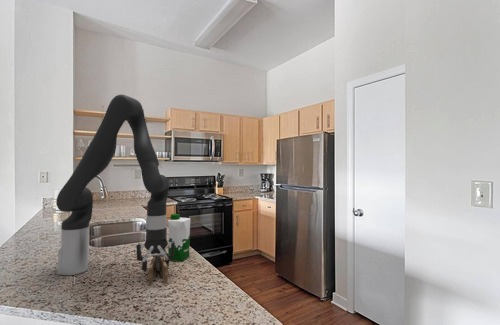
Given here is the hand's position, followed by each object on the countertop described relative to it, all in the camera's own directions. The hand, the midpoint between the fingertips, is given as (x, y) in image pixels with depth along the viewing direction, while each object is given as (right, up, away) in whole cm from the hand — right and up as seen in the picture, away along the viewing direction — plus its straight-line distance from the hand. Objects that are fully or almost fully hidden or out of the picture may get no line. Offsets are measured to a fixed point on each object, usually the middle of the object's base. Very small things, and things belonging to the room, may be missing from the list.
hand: (155, 270), depth 98 cm
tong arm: (+2, -2, 0) cm, 3 cm away
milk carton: (+4, -3, +19) cm, 20 cm away
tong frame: (0, -2, +1) cm, 3 cm away
